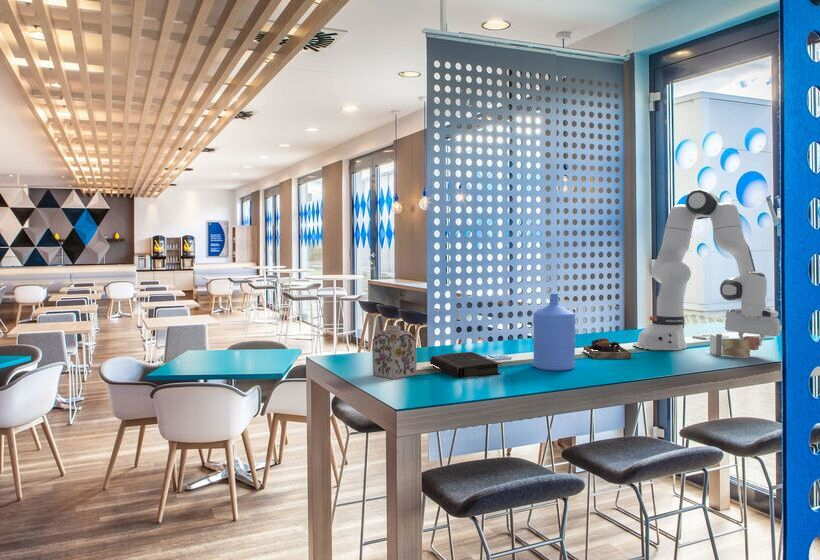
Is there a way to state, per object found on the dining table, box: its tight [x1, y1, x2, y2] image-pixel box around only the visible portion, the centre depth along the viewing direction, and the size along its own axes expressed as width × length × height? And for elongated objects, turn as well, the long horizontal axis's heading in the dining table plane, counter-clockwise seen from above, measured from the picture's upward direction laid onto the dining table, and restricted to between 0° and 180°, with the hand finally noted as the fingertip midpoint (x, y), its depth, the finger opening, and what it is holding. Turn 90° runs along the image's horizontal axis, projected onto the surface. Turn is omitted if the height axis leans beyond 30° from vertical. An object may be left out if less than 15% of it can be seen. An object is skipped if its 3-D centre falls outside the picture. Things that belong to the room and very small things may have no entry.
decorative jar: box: [372, 325, 418, 381], centre depth 229 cm, size 12×12×18 cm
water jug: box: [532, 293, 576, 372], centre depth 241 cm, size 16×16×28 cm
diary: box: [429, 351, 502, 380], centre depth 237 cm, size 19×25×5 cm
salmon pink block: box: [743, 335, 760, 351], centre depth 259 cm, size 4×4×5 cm
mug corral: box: [583, 345, 633, 360], centre depth 266 cm, size 15×17×2 cm
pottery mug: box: [590, 337, 621, 352], centre depth 265 cm, size 12×10×8 cm
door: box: [722, 337, 751, 359], centre depth 257 cm, size 10×2×7 cm, turn 48°
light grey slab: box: [709, 333, 723, 357], centre depth 264 cm, size 2×8×9 cm, turn 178°
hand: (751, 344), depth 259 cm, fingers closed on salmon pink block, 4 cm apart
